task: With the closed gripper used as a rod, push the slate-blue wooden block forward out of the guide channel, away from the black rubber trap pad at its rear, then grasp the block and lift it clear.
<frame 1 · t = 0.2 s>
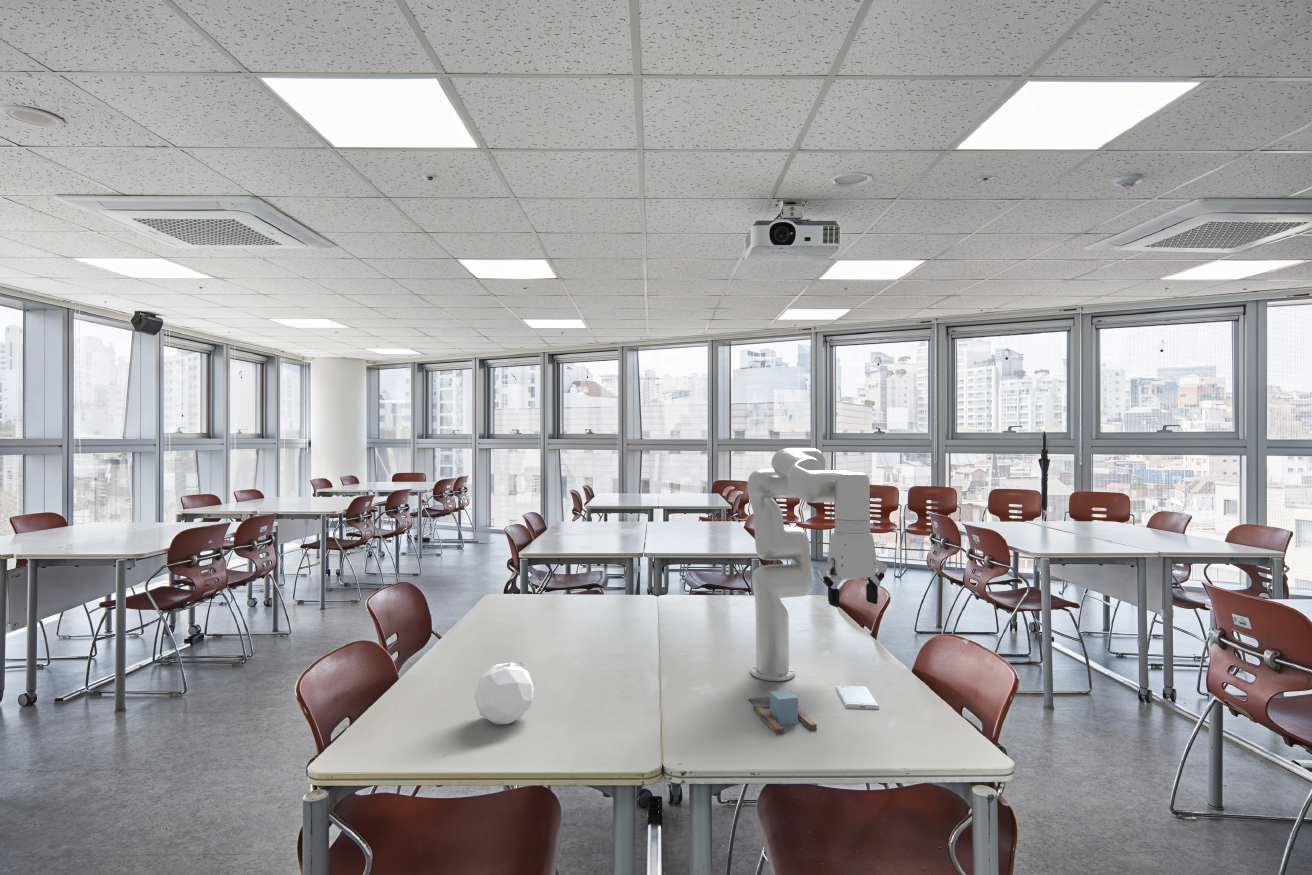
hand: (853, 604, 137), 31 cm above the table, fingers open, 9 cm apart
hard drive: (856, 701, 161), on the table
block: (783, 719, 149), on the table
guide channel: (783, 718, 149), on the table
geodesic sphere: (504, 721, 148), on the table
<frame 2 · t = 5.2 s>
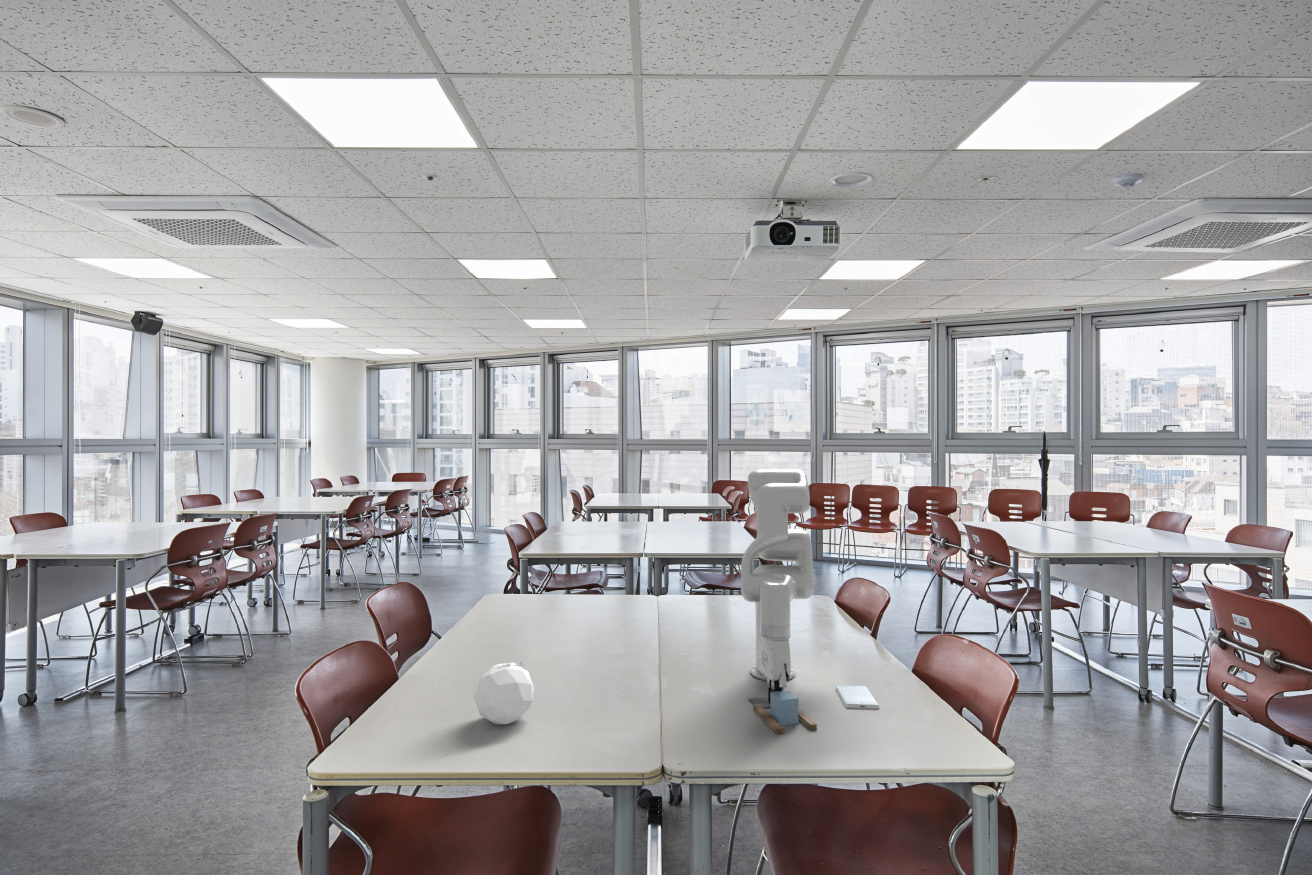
hand: (775, 703, 153), 2 cm above the table, fingers closed
block: (784, 719, 149), on the table, touching gripper
everything else where it was.
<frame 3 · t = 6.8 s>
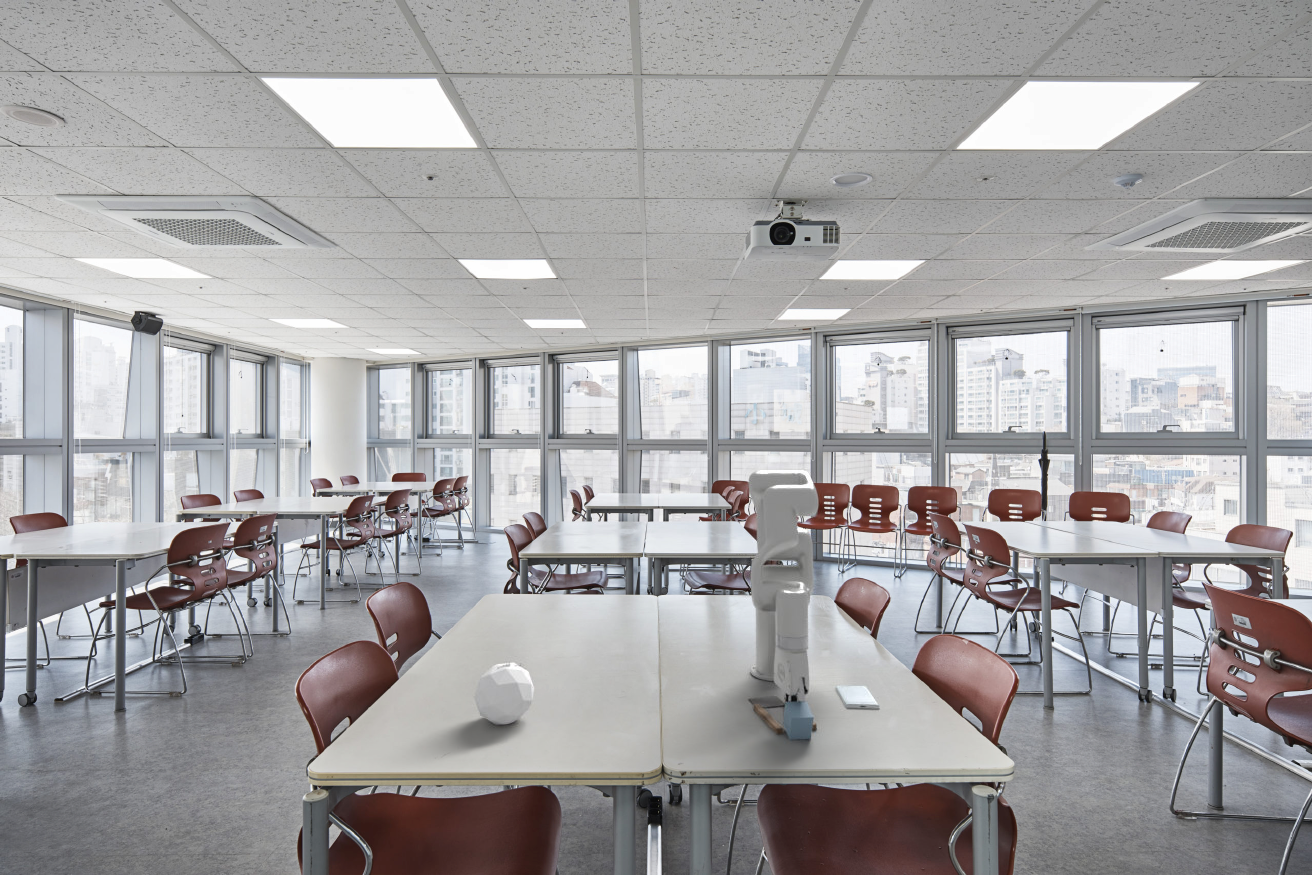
hand: (792, 719, 144), 2 cm above the table, fingers closed
block: (796, 730, 141), point 1 cm above the table, tilted 19°, touching gripper
everything else where it was.
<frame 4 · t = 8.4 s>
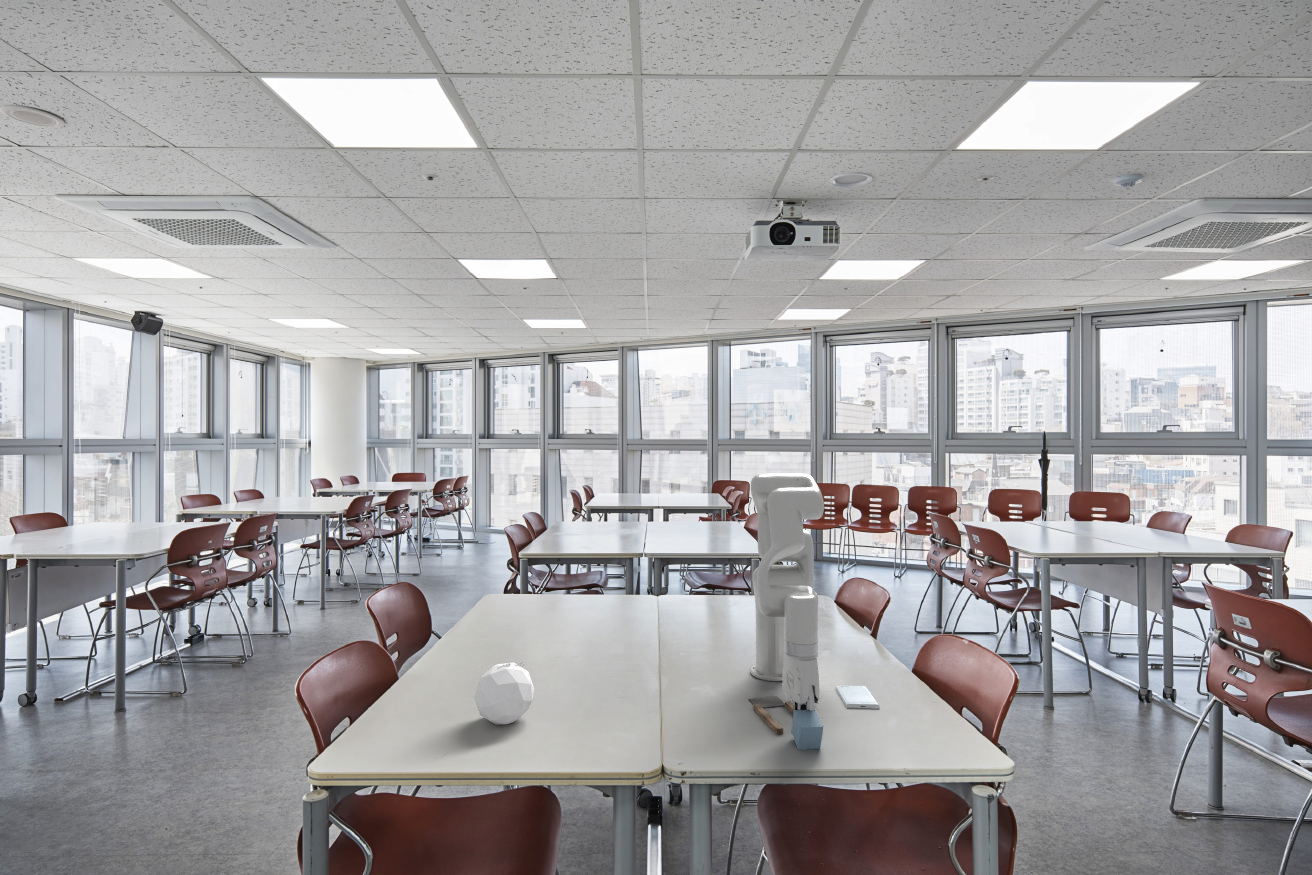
hand: (801, 728, 140), 2 cm above the table, fingers closed
block: (805, 740, 136), point 1 cm above the table, tilted 20°, touching gripper
everything else where it was.
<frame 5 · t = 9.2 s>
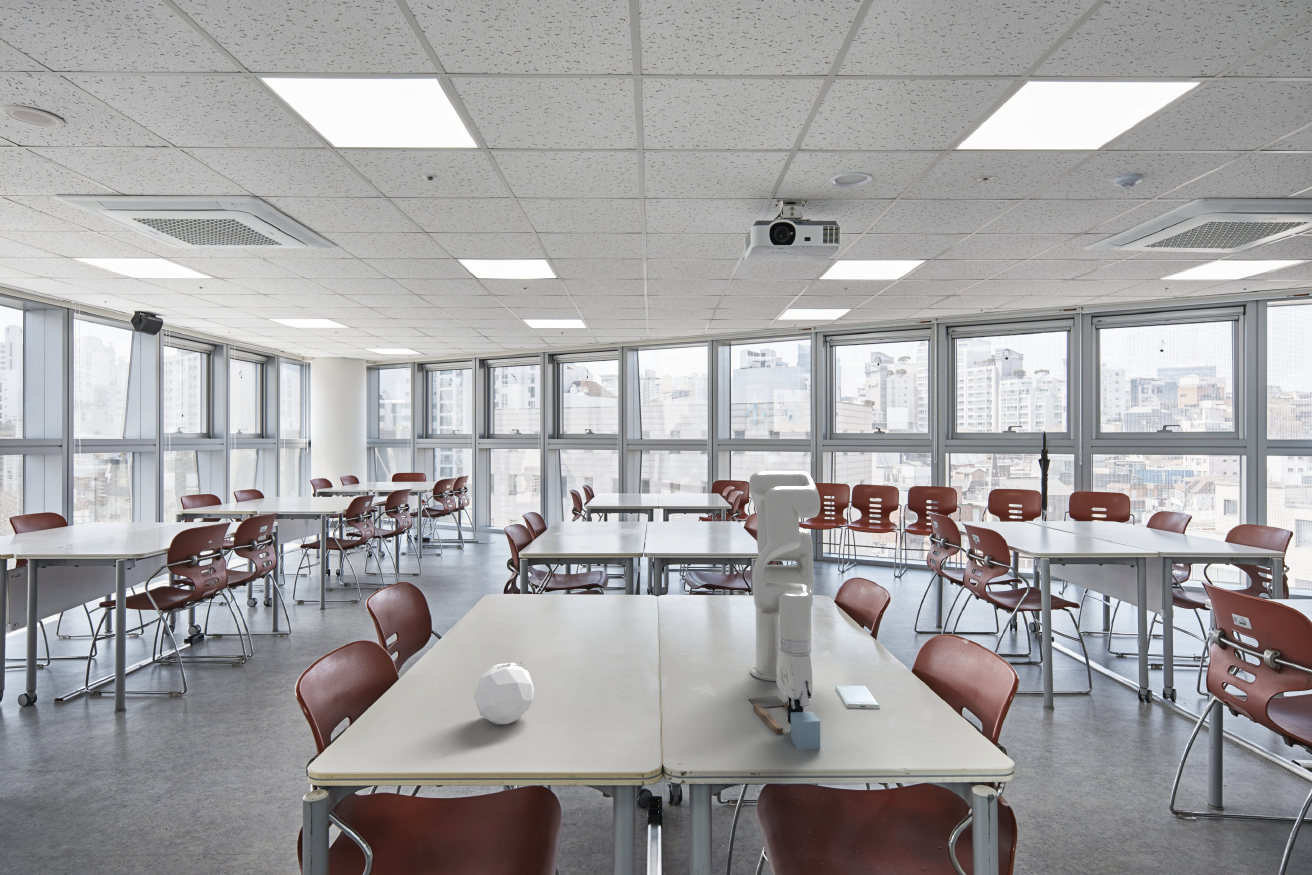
hand: (795, 723, 143), 1 cm above the table, fingers closed
block: (805, 743, 136), on the table
everything else where it was.
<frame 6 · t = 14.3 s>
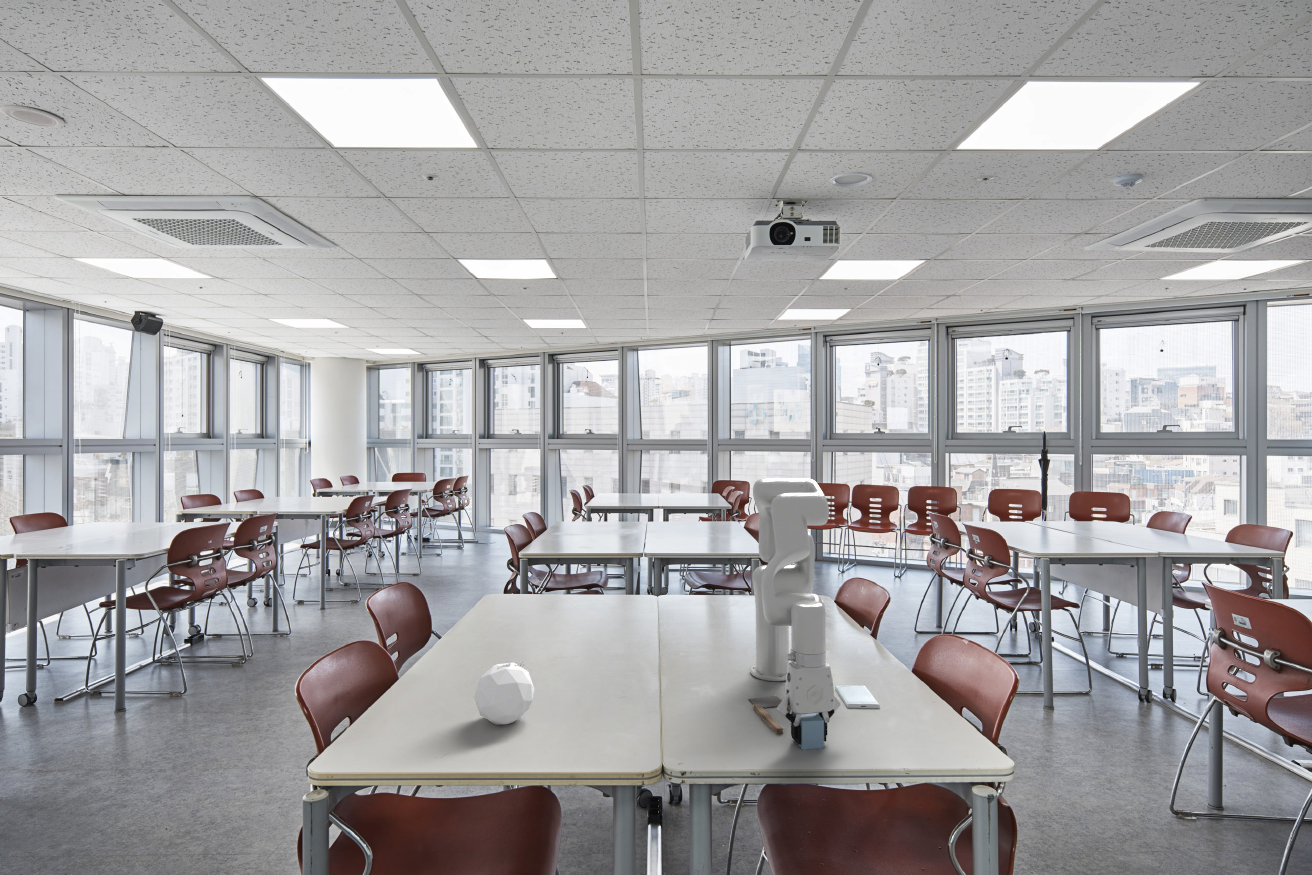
hand: (809, 739, 136), 1 cm above the table, fingers closed on block, 5 cm apart
block: (808, 743, 136), on the table, touching gripper
everything else where it was.
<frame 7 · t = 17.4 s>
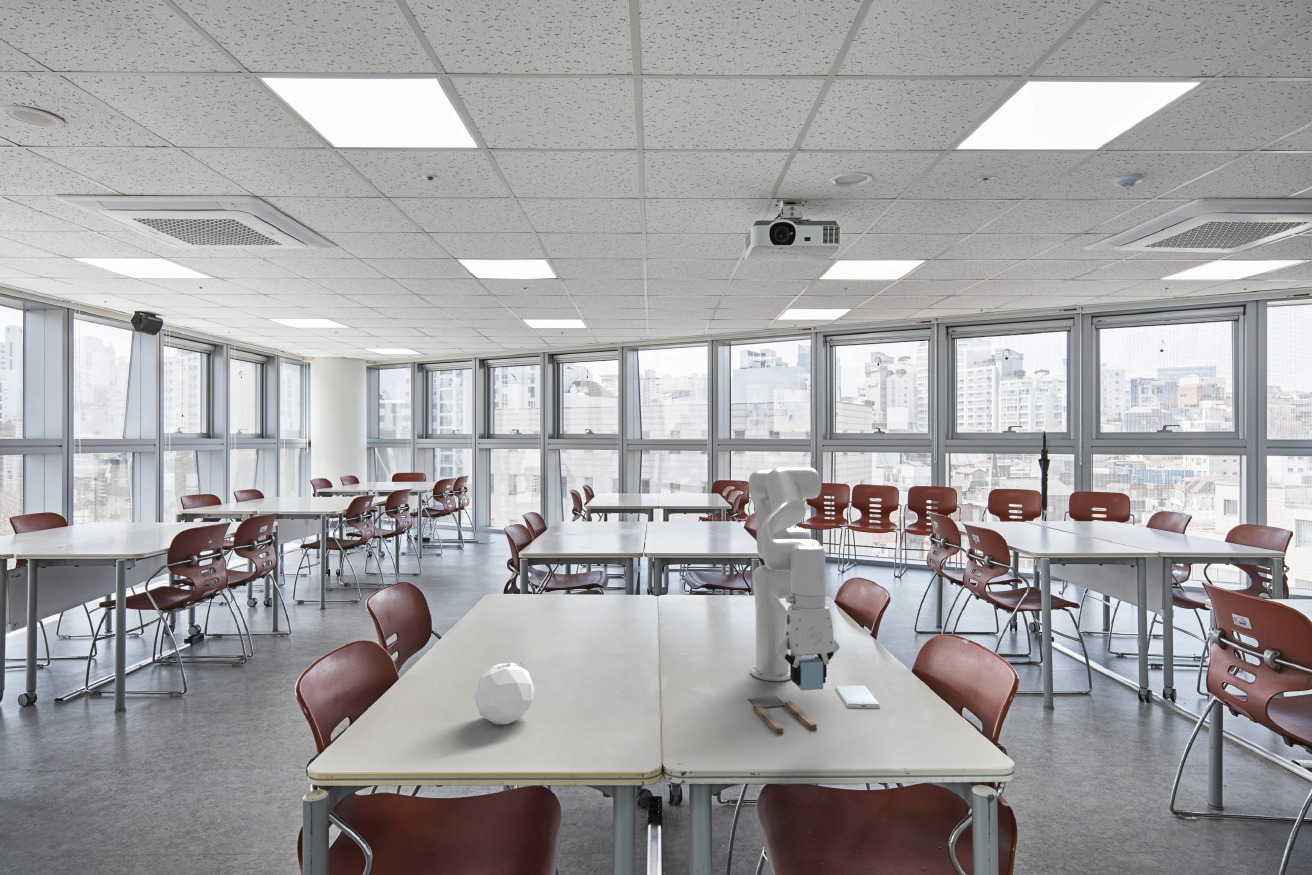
hand: (808, 681, 137), 14 cm above the table, fingers closed on block, 5 cm apart
block: (808, 685, 137), point 13 cm above the table, touching gripper
everything else where it was.
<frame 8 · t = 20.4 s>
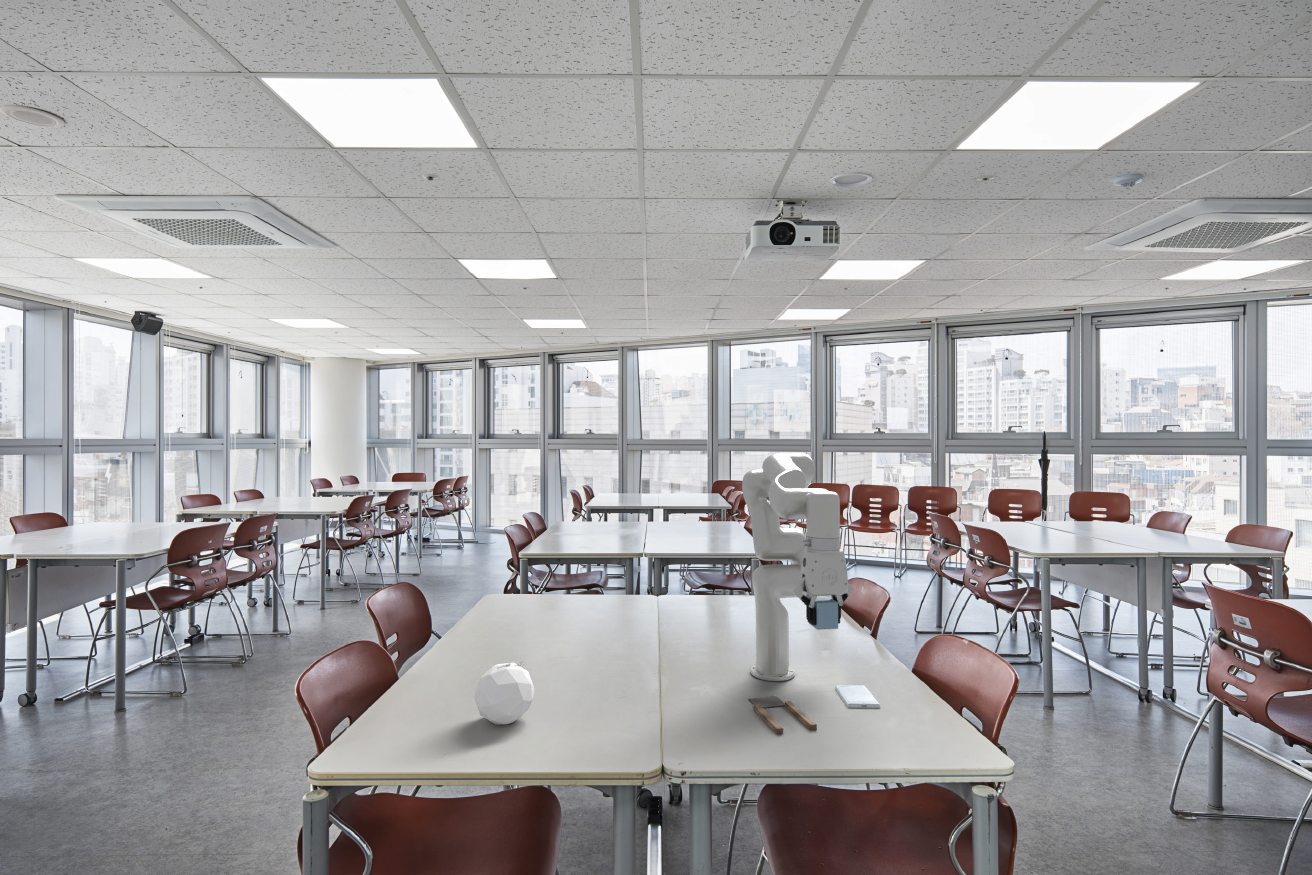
hand: (823, 621, 142), 25 cm above the table, fingers closed on block, 5 cm apart
block: (823, 625, 143), point 24 cm above the table, touching gripper
everything else where it was.
at the end: the gripper is holding block; block point 24.4 cm above the table; block moved 26.6 cm from its start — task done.
